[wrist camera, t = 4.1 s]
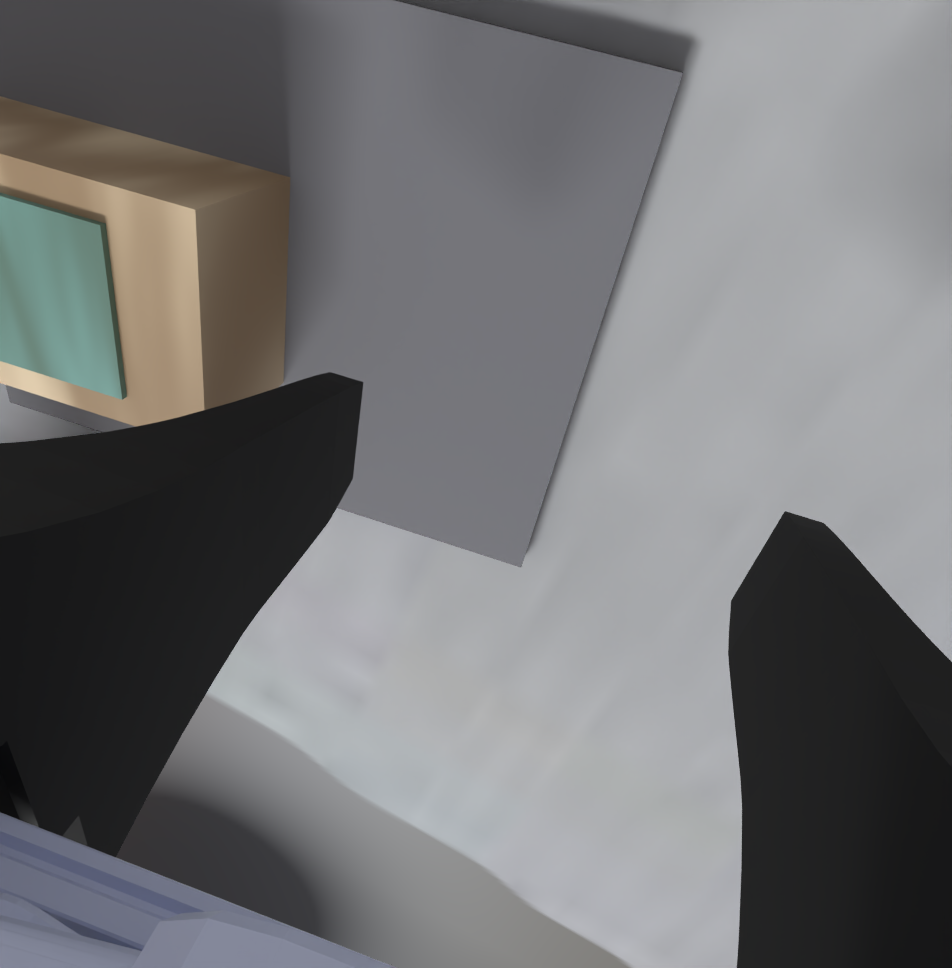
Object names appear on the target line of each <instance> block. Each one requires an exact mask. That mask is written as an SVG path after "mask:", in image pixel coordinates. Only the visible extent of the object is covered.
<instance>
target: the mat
mask: <svg viewBox="0 0 952 968" xmlns="http://www.w3.org/2000/svg"><path fill="white" fill-rule="evenodd" d="M682 75H683V72H679V71H675V70H671V69H667V68H663V67H659V66H655V65H651V64H647V63H643V62H639V61H635V60H632V59H628V58H624V57H620V56H616V55H612V54H608V53H604V52H600V51H596V50H592V49H588V48H584V47H580V46H576V45H572V44H568V43H564V42H560V41H556V40H552V39H548V38H544V37H540V36H536V35H532V34H528V33H524V32H520V31H516V30H512V29H508V28H504V27H500V26H496V25H492V24H488V23H484V22H480V21H476V20H472V19H468V18H464V17H460V16H456V15H452V14H448V13H445V12H441V11H437V10H433V9H429V8H425V7H421V6H417V5H413V4H409V3H405V2H401V1H397V0H0V96H1V97H5V98H8V99H12V100H15V101H19V102H22V103H26V104H30V105H33V106H37V107H40V108H44V109H48V110H51V111H55V112H58V113H62V114H65V115H69V116H73V117H76V118H80V119H83V120H87V121H90V122H94V123H98V124H101V125H105V126H108V127H112V128H115V129H119V130H123V131H126V132H130V133H133V134H137V135H141V136H144V137H148V138H151V139H155V140H158V141H162V142H166V143H169V144H173V145H176V146H180V147H183V148H187V149H191V150H194V151H198V152H201V153H205V154H208V155H212V156H216V157H219V158H223V159H226V160H230V161H234V162H237V163H241V164H244V165H248V166H251V167H255V168H259V169H262V170H266V171H269V172H273V173H276V174H280V175H284V176H287V177H290V204H289V233H288V263H287V293H286V323H285V353H284V382H283V383H282V384H281V385H280V386H279V387H281V386H284V385H287V384H290V383H293V382H296V381H299V380H302V379H306V378H309V377H312V376H316V375H319V374H323V373H328V372H332V373H335V374H339V375H342V376H345V377H348V378H352V379H355V380H358V381H361V382H363V391H362V400H361V410H360V419H359V428H358V437H357V446H356V455H355V464H354V473H353V480H352V481H351V483H350V485H349V487H348V489H347V490H346V492H345V494H344V496H343V498H342V500H341V501H340V503H339V505H338V507H337V508H339V509H342V510H345V511H348V512H351V513H354V514H357V515H361V516H364V517H367V518H370V519H373V520H376V521H379V522H382V523H385V524H388V525H391V526H395V527H398V528H401V529H404V530H407V531H410V532H413V533H416V534H419V535H422V536H425V537H429V538H432V539H435V540H438V541H441V542H444V543H447V544H450V545H453V546H456V547H460V548H463V549H466V550H469V551H472V552H475V553H478V554H481V555H484V556H487V557H490V558H494V559H497V560H500V561H503V562H506V563H509V564H512V565H515V566H518V567H521V566H522V563H523V560H524V557H525V554H526V551H527V548H528V545H529V542H530V539H531V536H532V533H533V529H534V526H535V523H536V520H537V517H538V514H539V511H540V508H541V505H542V502H543V499H544V496H545V493H546V490H547V487H548V484H549V481H550V478H551V475H552V471H553V468H554V465H555V462H556V459H557V456H558V453H559V450H560V447H561V444H562V441H563V438H564V435H565V432H566V429H567V426H568V423H569V420H570V417H571V413H572V410H573V407H574V404H575V401H576V398H577V395H578V392H579V389H580V386H581V383H582V380H583V377H584V374H585V371H586V368H587V365H588V362H589V359H590V355H591V352H592V349H593V346H594V343H595V340H596V337H597V334H598V331H599V328H600V325H601V322H602V319H603V316H604V313H605V310H606V307H607V304H608V301H609V297H610V294H611V291H612V288H613V285H614V282H615V279H616V276H617V273H618V270H619V267H620V264H621V261H622V258H623V255H624V252H625V249H626V246H627V243H628V239H629V236H630V233H631V230H632V227H633V224H634V221H635V218H636V215H637V212H638V209H639V206H640V203H641V200H642V197H643V194H644V191H645V188H646V185H647V181H648V178H649V175H650V172H651V169H652V166H653V163H654V160H655V157H656V154H657V151H658V148H659V145H660V142H661V139H662V136H663V133H664V130H665V127H666V123H667V120H668V117H669V114H670V111H671V108H672V105H673V102H674V99H675V96H676V93H677V90H678V87H679V84H680V81H681V78H682ZM6 387H7V391H8V395H9V400H10V402H11V403H14V404H17V405H20V406H24V407H27V408H30V409H33V410H36V411H39V412H42V413H45V414H48V415H51V416H54V417H58V418H61V419H64V420H67V421H70V422H73V423H76V424H79V425H82V426H85V427H88V428H92V429H95V430H98V431H101V432H109V431H114V430H120V429H125V428H131V427H136V426H133V425H130V424H127V423H123V422H120V421H117V420H114V419H111V418H108V417H105V416H102V415H99V414H95V413H92V412H89V411H86V410H83V409H80V408H77V407H74V406H71V405H67V404H64V403H61V402H58V401H55V400H52V399H49V398H46V397H43V396H39V395H36V394H33V393H30V392H27V391H24V390H21V389H18V388H14V387H11V386H8V385H6Z"/></svg>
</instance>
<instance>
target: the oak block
mask: <svg viewBox="0 0 952 968" xmlns="http://www.w3.org/2000/svg"><path fill="white" fill-rule="evenodd" d="M289 204H290V177H287V176H284V175H280V174H276V173H273V172H269V171H266V170H262V169H259V168H255V167H251V166H248V165H244V164H241V163H237V162H234V161H230V160H226V159H223V158H219V157H216V156H212V155H208V154H205V153H201V152H198V151H194V150H191V149H187V148H183V147H180V146H176V145H173V144H169V143H166V142H162V141H158V140H155V139H151V138H148V137H144V136H141V135H137V134H133V133H130V132H126V131H123V130H119V129H115V128H112V127H108V126H105V125H101V124H98V123H94V122H90V121H87V120H83V119H80V118H76V117H73V116H69V115H65V114H62V113H58V112H55V111H51V110H48V109H44V108H40V107H37V106H33V105H30V104H26V103H22V102H19V101H15V100H12V99H8V98H5V97H1V96H0V383H2V384H5V385H8V386H11V387H14V388H18V389H21V390H24V391H27V392H30V393H33V394H36V395H39V396H43V397H46V398H49V399H52V400H55V401H58V402H61V403H64V404H67V405H71V406H74V407H77V408H80V409H83V410H86V411H89V412H92V413H95V414H99V415H102V416H105V417H108V418H111V419H114V420H117V421H120V422H123V423H127V424H130V425H133V426H141V425H147V424H151V423H156V422H160V421H165V420H169V419H173V418H178V417H181V416H185V415H188V414H192V413H196V412H199V411H203V410H206V409H210V408H214V407H217V406H221V405H224V404H228V403H232V402H235V401H238V400H241V399H244V398H247V397H250V396H254V395H257V394H260V393H263V392H266V391H269V390H272V389H275V388H278V387H279V386H280V385H281V384H282V383H283V382H284V353H285V323H286V293H287V263H288V233H289Z"/></svg>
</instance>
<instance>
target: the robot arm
mask: <svg viewBox="0 0 952 968" xmlns="http://www.w3.org/2000/svg"><path fill="white" fill-rule="evenodd" d="M362 391H363V382H361V381H358V380H355V379H352V378H348V377H345V376H342V375H339V374H335V373H332V372H328V373H323V374H319V375H316V376H312V377H309V378H306V379H302V380H299V381H296V382H293V383H290V384H287V385H284V386H281V387H278V388H275V389H272V390H269V391H266V392H263V393H260V394H257V395H254V396H250V397H247V398H244V399H241V400H238V401H235V402H232V403H228V404H224V405H221V406H217V407H214V408H210V409H206V410H203V411H199V412H196V413H192V414H188V415H185V416H181V417H178V418H173V419H169V420H165V421H160V422H156V423H151V424H147V425H141V426H136V427H131V428H125V429H120V430H114V431H109V432H102V433H96V434H87V435H79V436H71V437H62V438H54V439H45V440H37V441H28V442H16V443H1V444H0V968H396V967H394V966H391V965H388V964H386V963H384V962H381V961H378V960H376V959H373V958H371V957H368V956H366V955H363V954H361V953H358V952H356V951H353V950H350V949H348V948H345V947H343V946H340V945H338V944H335V943H333V942H330V941H327V940H325V939H322V938H320V937H317V936H315V935H312V934H309V933H307V932H304V931H302V930H299V929H297V928H294V927H292V926H289V925H286V924H284V923H281V922H279V921H276V920H274V919H271V918H269V917H266V916H264V915H261V914H259V913H256V912H253V911H251V910H248V909H246V908H243V907H241V906H238V905H235V904H233V903H230V902H228V901H225V900H223V899H220V898H218V897H215V896H213V895H210V894H207V893H205V892H202V891H200V890H197V889H195V888H192V887H190V886H187V885H184V884H182V883H179V882H176V881H174V880H172V879H169V878H166V877H164V876H161V875H159V874H156V873H154V872H151V871H149V870H146V869H144V868H141V867H138V866H136V865H133V864H131V863H128V862H126V861H123V860H121V859H118V858H116V855H117V853H118V852H119V850H120V848H121V846H122V844H123V842H124V840H125V838H126V836H127V835H128V832H129V831H130V829H131V827H132V825H133V823H134V821H135V819H136V817H137V815H138V814H139V812H140V810H141V808H142V806H143V804H144V802H145V800H146V798H147V796H148V794H149V793H150V791H151V789H152V787H153V785H154V784H155V782H156V780H157V778H158V776H159V774H160V773H161V771H162V769H163V768H164V765H165V764H166V762H167V760H168V758H169V757H170V755H171V753H172V751H173V750H174V748H175V746H176V744H177V742H178V740H179V739H180V737H181V735H182V733H183V731H184V730H185V728H186V727H187V725H188V723H189V721H190V719H191V718H192V716H193V715H194V713H195V711H196V710H197V708H198V706H199V704H200V703H201V701H202V699H203V698H204V696H205V694H206V693H207V691H208V689H209V688H210V686H211V684H212V682H213V681H214V679H215V677H216V676H217V674H218V673H219V671H220V669H221V668H222V666H223V665H224V663H225V661H226V660H227V658H228V657H229V655H230V653H231V652H232V650H233V648H234V647H235V645H236V644H237V642H238V640H239V639H240V637H241V636H242V634H243V632H244V631H245V630H246V628H247V627H248V625H249V624H250V623H251V621H252V620H253V618H254V617H255V616H256V614H257V613H258V612H259V610H260V609H261V608H262V606H263V605H264V604H265V603H266V601H267V600H268V599H269V598H270V596H271V595H272V594H273V592H274V591H275V590H276V589H277V587H278V586H279V585H280V584H281V582H282V581H283V580H284V579H285V577H286V576H287V575H288V573H289V572H290V571H291V570H292V568H293V567H294V566H295V565H296V563H297V562H298V561H299V559H300V558H301V557H302V556H303V554H304V553H305V552H306V551H307V549H308V548H309V547H310V545H311V544H312V543H313V542H314V540H315V539H316V538H317V536H318V535H319V534H320V532H321V531H322V530H323V528H324V527H325V526H326V524H327V523H328V522H329V520H330V518H331V517H332V515H333V513H334V512H335V510H336V508H337V507H338V505H339V503H340V501H341V500H342V498H343V496H344V494H345V492H346V490H347V489H348V487H349V485H350V483H351V481H352V480H353V473H354V464H355V455H356V446H357V437H358V428H359V419H360V410H361V400H362ZM728 655H729V668H730V678H731V689H732V699H733V709H734V719H735V728H736V738H737V748H738V757H739V767H740V777H741V793H742V873H741V899H740V926H739V945H738V961H737V968H952V662H951V661H950V660H949V659H948V658H947V657H946V656H945V655H944V654H943V653H942V652H941V651H940V650H939V649H938V648H937V647H936V646H935V645H934V644H933V643H932V642H931V640H930V639H929V638H928V637H927V636H926V635H925V634H924V633H923V632H922V631H921V630H920V629H919V628H918V627H917V625H916V624H915V623H914V622H913V621H912V620H911V619H910V618H909V617H908V616H907V614H906V613H905V612H904V611H903V610H902V609H901V608H900V607H899V606H898V604H897V603H896V602H895V601H894V600H893V599H892V598H891V597H890V595H889V594H888V593H887V592H886V591H885V590H884V589H883V587H882V586H881V585H880V584H879V583H878V582H877V581H876V579H875V578H874V577H873V576H872V575H871V574H870V573H869V571H868V570H867V569H866V568H865V567H864V566H863V565H862V563H861V562H860V561H859V560H858V559H857V558H856V557H855V555H854V554H853V553H852V552H851V551H850V550H849V549H848V548H847V546H846V545H845V544H844V543H843V542H842V541H841V540H840V539H839V538H838V537H837V536H836V535H835V534H834V533H833V532H832V531H831V530H830V529H829V528H828V527H827V526H826V525H825V524H824V523H822V522H818V521H815V520H812V519H808V518H805V517H802V516H799V515H795V514H792V513H789V512H786V511H785V512H784V514H783V515H782V517H781V519H780V520H779V522H778V524H777V525H776V527H775V529H774V530H773V532H772V534H771V535H770V537H769V539H768V540H767V542H766V544H765V545H764V547H763V549H762V550H761V552H760V554H759V555H758V557H757V559H756V560H755V562H754V564H753V565H752V567H751V569H750V570H749V572H748V574H747V575H746V577H745V579H744V580H743V582H742V584H741V585H740V587H739V589H738V590H737V592H736V594H735V595H734V597H733V599H732V600H731V613H730V627H729V651H728Z"/></svg>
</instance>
